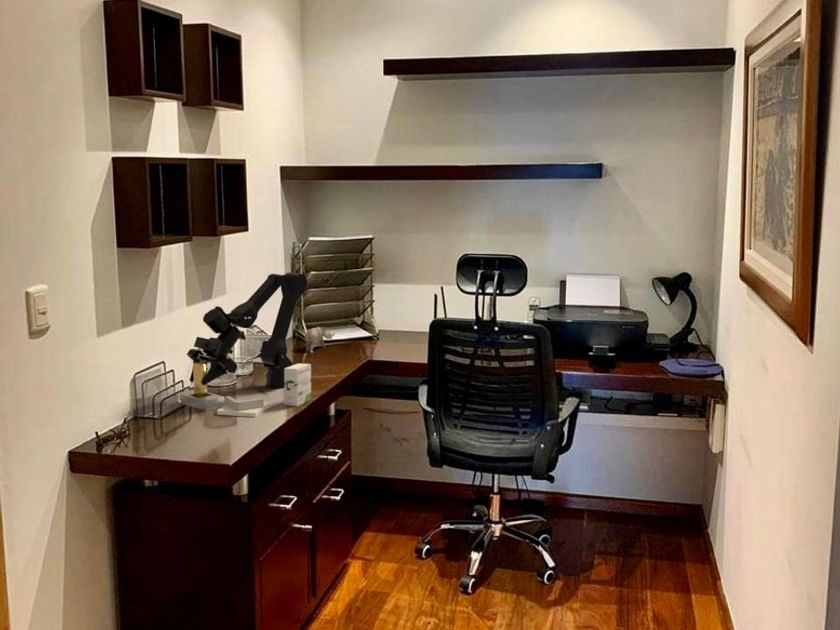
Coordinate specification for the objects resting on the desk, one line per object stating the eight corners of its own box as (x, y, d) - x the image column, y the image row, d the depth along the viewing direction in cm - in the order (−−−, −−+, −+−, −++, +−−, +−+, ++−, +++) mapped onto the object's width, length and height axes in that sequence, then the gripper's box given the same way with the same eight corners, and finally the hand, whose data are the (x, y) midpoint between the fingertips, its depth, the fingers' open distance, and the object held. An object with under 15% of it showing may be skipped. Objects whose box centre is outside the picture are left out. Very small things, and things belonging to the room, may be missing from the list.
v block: (232, 404, 259) (231, 392, 258) (269, 406, 257) (269, 394, 257) (216, 414, 247) (216, 402, 247) (255, 416, 245) (255, 404, 245)
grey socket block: (177, 402, 260) (177, 393, 259) (196, 398, 265) (196, 389, 265) (205, 410, 251) (205, 401, 251) (224, 406, 257) (224, 396, 256)
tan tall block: (204, 402, 261) (203, 361, 259) (210, 404, 258) (208, 363, 256) (192, 404, 258) (190, 363, 256) (197, 406, 255) (196, 365, 253)
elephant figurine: (292, 346, 338) (307, 314, 343) (306, 360, 349) (320, 329, 355) (309, 350, 335) (323, 317, 340) (322, 364, 346) (335, 332, 352)
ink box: (298, 398, 267) (298, 362, 265) (312, 400, 265) (311, 363, 263) (283, 404, 259) (283, 367, 258) (297, 406, 257) (297, 369, 256)
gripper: (190, 323, 263) (161, 363, 256) (229, 330, 252) (199, 372, 245) (211, 344, 271) (184, 383, 264) (249, 352, 259) (222, 393, 252)
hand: (196, 382), depth 256 cm, fingers open, 6 cm apart
